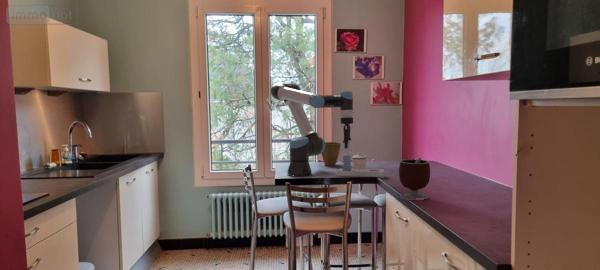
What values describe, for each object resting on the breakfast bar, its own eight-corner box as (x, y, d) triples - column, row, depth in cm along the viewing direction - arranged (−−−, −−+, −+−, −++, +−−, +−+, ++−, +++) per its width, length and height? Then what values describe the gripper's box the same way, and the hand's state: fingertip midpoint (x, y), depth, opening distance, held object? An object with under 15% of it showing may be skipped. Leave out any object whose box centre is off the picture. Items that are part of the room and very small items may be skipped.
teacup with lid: (363, 169, 252) (363, 151, 251) (368, 171, 243) (368, 153, 242) (346, 169, 250) (346, 152, 249) (350, 172, 241) (350, 154, 240)
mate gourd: (395, 194, 182) (395, 153, 180) (424, 193, 182) (424, 152, 180) (404, 202, 166) (404, 158, 165) (435, 202, 166) (436, 157, 165)
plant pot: (323, 167, 261) (323, 144, 260) (317, 164, 275) (317, 142, 274) (343, 166, 265) (343, 143, 263) (336, 163, 279) (336, 141, 278)
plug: (343, 175, 226) (343, 153, 225) (343, 174, 230) (343, 152, 229) (350, 175, 225) (350, 153, 224) (350, 174, 229) (350, 152, 228)
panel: (336, 177, 224) (336, 170, 224) (337, 174, 233) (337, 168, 233) (384, 178, 219) (384, 171, 218) (383, 175, 228) (383, 169, 227)
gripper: (351, 117, 212) (352, 155, 213) (354, 116, 236) (354, 149, 238) (338, 117, 213) (339, 155, 215) (342, 116, 237) (342, 149, 239)
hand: (347, 152), depth 226 cm, fingers open, 13 cm apart
